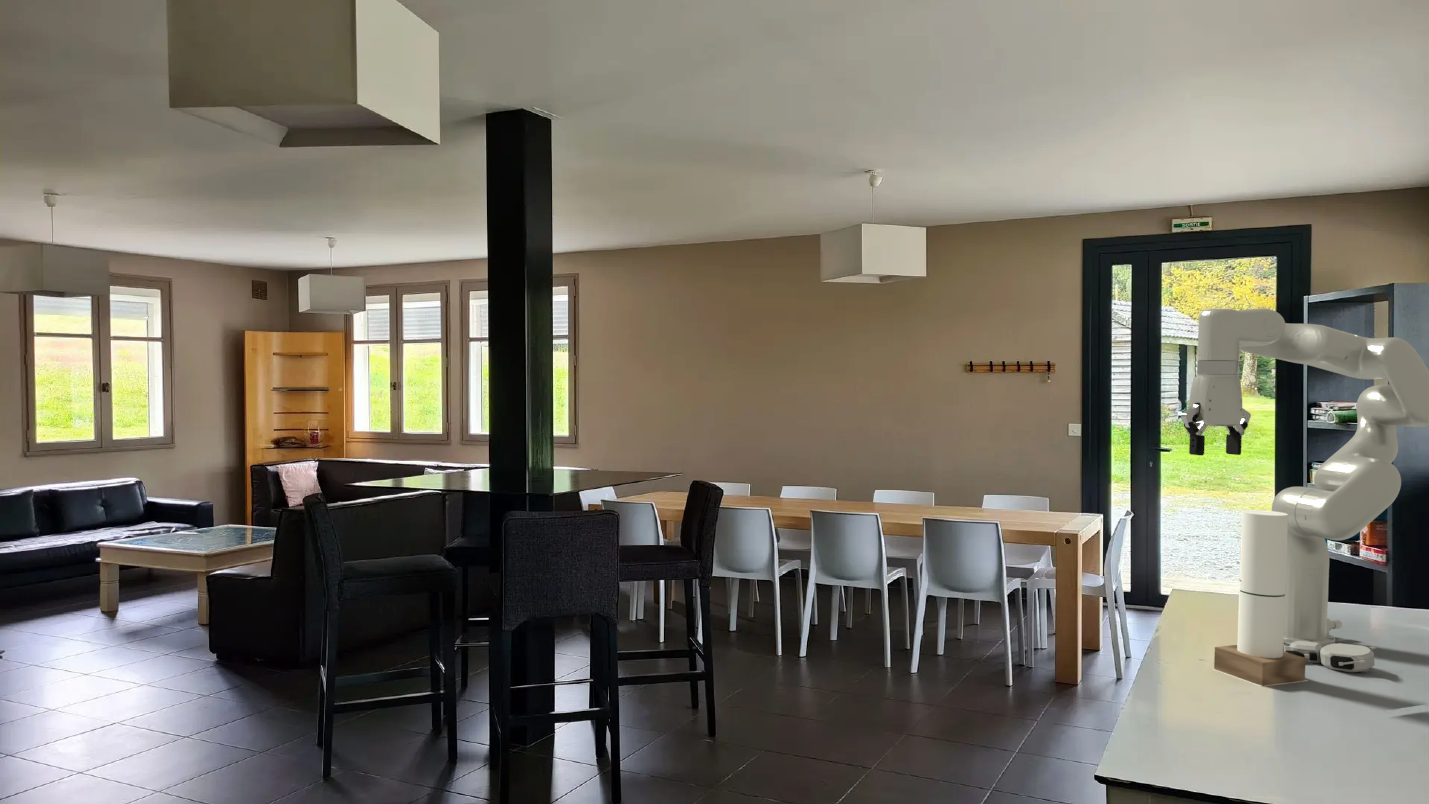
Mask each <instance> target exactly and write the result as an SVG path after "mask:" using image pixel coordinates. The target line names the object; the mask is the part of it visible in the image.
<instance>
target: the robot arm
mask: <svg viewBox="0 0 1429 804" xmlns="http://www.w3.org/2000/svg"><path fill="white" fill-rule="evenodd" d="M1197 331H1198V332H1197V333H1198V336H1197V338H1198V339H1197V363H1196V365H1197V366H1196V367H1197V368H1196V376H1194V377H1193V380H1192V383H1191V388H1190V393H1189V401H1188V408H1187V409H1186V410H1184V411H1182V412H1181V413H1180V417H1181V420H1182V422H1183V427H1184V428H1185V429H1186V433H1187V435H1188V436H1189V445H1188V446H1189V450H1188V453H1189V455H1193V456H1204V455H1205V447H1206V446H1205V441H1206V440H1205V439H1206V438H1205V437H1206V436H1205V435H1203V434H1204V432H1205V431H1206V429H1207V428H1208V427H1224V428H1225V429H1226V430H1227V432H1228V434H1226V436H1225V439H1226V441H1225V453H1226V454H1227V455H1235V456H1241V455H1242V441H1243V440H1242V438H1243V437H1242V436H1244V435H1245V431H1246V429H1247V428H1248V426H1249V421H1250V419H1251V417H1252V414H1251V413H1250V412H1249V411H1247V410H1246V409H1245V408H1244V407H1243V391H1242V383H1241V378H1240V370H1241V367H1240V351H1241V352H1245V353H1248V354H1251V355H1256V356H1261V357H1266V358H1272V359H1277V360H1281V361H1284V362H1285V361H1286V362H1290V363H1294V364H1301V365H1306V366H1309V367H1314V368H1316V369H1317V368H1318V369H1321V370H1324V371H1328V372H1332V373H1335V374H1339V375H1342V376H1345V377H1350V378H1353V379H1358V380H1359V379H1360V380H1387V381H1388V384H1377V385H1373V386H1369V387H1367V388H1366V389H1364V390H1363V391H1362V392H1361V394H1359V396H1358V398H1357V401H1356V416H1357V419H1356V420H1357V427H1356V431H1355V434H1354V435H1353V436H1352V437H1351V438H1350V439H1349V441H1347V442H1346V443H1345V444H1344V445H1342V446H1341V448H1339V449H1338V450H1337V451H1336V452H1334V453H1333V454H1332V455H1331V456H1330V457H1329V458H1328V459H1326V461H1324V462H1323V463H1322V464H1321V465H1320V466H1319V467H1318V468H1317V469H1316V472H1315V474H1314V477H1313V484H1314V486H1315V487H1309V486H1308V487H1307V486H1290V487H1286V488H1284V489H1282V490H1281V491H1279V492H1278V493H1277V494H1276V495H1275V497H1274V498H1273V501H1272V503H1271V511H1275V512H1282V513H1286V514H1288V525H1287V555H1286V584H1285V614H1284V644H1286V643H1293V642H1295V641H1307V642H1314V643H1319V644H1320V645H1321V646H1322V648H1323V647H1324V646H1326V645H1329V644H1336V639H1337V638H1336V637H1335V636H1333V635H1331V634H1330V631H1331V630H1338V629H1342V627H1343V624H1342V621H1341V620H1340V619H1337V618H1336V619H1330V618H1328V609H1329V608H1328V607H1329V606H1328V605H1329V578H1330V574H1329V573H1330V551H1329V548H1328V545H1327V541H1326V540H1331V541H1345V540H1348V539H1350V538H1353V537H1354V536H1356V535H1357V534H1358V533H1360V532H1361V531H1362V530H1363V529H1365V528H1366V527H1367V526H1368V525H1369V524H1371V522H1373V521H1374V520H1375V519H1376V518H1378V517H1379V515H1381V514H1382V513H1383V512H1384V511H1385V510H1386V509H1387V508H1389V507H1390V506H1391V504H1393V503H1394V501H1395V500H1396V498H1398V495H1399V493H1400V490H1401V486H1402V478H1401V477H1402V476H1401V474H1400V472H1399V470H1398V468H1397V467H1396V466H1395V465H1394V464H1392V463H1393V462H1394V461H1395V459H1396V458H1397V455H1398V452H1399V444H1398V435H1397V426H1399V427H1413V428H1423V427H1425V428H1426V427H1428V426H1429V369H1428V367H1427V366H1426V364H1425V362H1424V361H1423V359H1422V357H1421V356H1420V354H1419V353H1418V352H1417V351H1416V349H1415V348H1414V347H1413V346H1412V345H1411V344H1410V343H1409V342H1407V341H1406V340H1404V339H1403V338H1400V337H1377V338H1375V337H1365V336H1361V335H1358V334H1354V333H1350V332H1347V331H1343V330H1340V329H1336V328H1333V327H1329V326H1327V325H1323V324H1315V323H1287V322H1286V321H1285V319H1284V317H1283V316H1282V315H1281V313H1279V312H1277V311H1276V310H1273V309H1271V308H1270V309H1269V308H1251V309H1241V310H1238V309H1234V308H1233V309H1232V308H1210V309H1205V310H1202V311H1201V312H1200V314H1199V316H1198V330H1197Z"/></svg>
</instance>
